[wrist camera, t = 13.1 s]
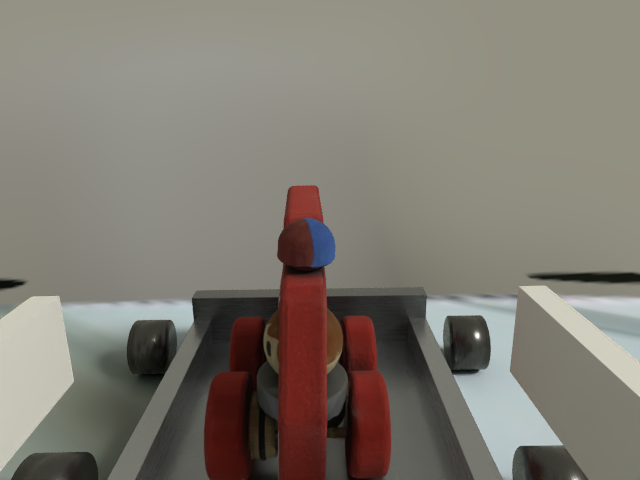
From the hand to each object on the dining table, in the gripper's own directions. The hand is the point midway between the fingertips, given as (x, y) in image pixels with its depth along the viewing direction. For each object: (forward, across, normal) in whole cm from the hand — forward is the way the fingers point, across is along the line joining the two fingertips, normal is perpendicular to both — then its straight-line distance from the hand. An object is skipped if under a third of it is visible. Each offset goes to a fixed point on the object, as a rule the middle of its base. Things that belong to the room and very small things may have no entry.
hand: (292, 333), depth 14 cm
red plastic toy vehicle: (+6, 0, -8) cm, 10 cm away
